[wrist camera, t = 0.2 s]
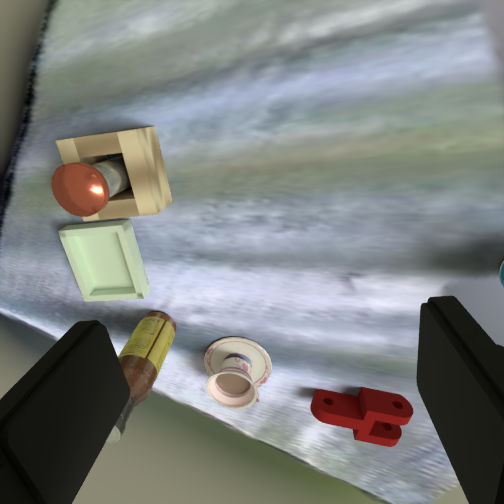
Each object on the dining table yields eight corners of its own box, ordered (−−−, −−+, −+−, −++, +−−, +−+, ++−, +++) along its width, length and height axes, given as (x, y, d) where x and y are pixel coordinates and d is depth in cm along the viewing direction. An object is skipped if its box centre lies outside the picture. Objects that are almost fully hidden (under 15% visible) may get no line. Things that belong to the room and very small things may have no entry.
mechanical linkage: (407, 395, 57) (417, 420, 52) (393, 423, 60) (401, 449, 55) (316, 376, 57) (318, 400, 53) (306, 405, 60) (307, 429, 56)
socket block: (84, 135, 44) (55, 140, 38) (155, 126, 42) (135, 129, 37) (107, 207, 48) (83, 221, 42) (172, 201, 46) (156, 214, 41)
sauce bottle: (135, 324, 56) (62, 429, 38) (155, 302, 54) (87, 402, 36) (166, 346, 58) (110, 457, 40) (186, 325, 55) (136, 433, 37)
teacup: (192, 368, 59) (182, 395, 54) (225, 323, 54) (217, 349, 49) (249, 398, 61) (245, 428, 55) (285, 357, 56) (285, 386, 50)
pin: (104, 150, 44) (43, 166, 33) (143, 145, 44) (93, 160, 33) (116, 191, 47) (62, 219, 36) (153, 187, 46) (110, 214, 35)
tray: (68, 225, 50) (57, 231, 47) (130, 219, 48) (121, 225, 46) (93, 293, 54) (84, 301, 52) (150, 289, 53) (144, 298, 51)
